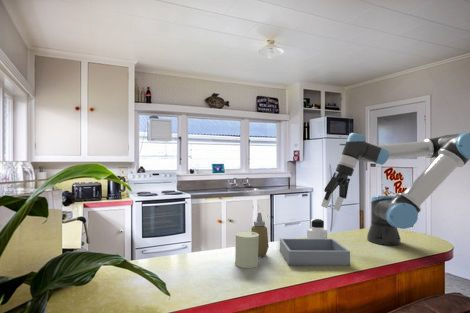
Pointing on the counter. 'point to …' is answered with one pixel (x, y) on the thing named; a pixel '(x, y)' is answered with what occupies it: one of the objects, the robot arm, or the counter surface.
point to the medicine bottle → (317, 230)
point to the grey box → (314, 252)
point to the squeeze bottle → (261, 235)
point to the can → (246, 249)
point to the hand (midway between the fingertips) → (330, 208)
